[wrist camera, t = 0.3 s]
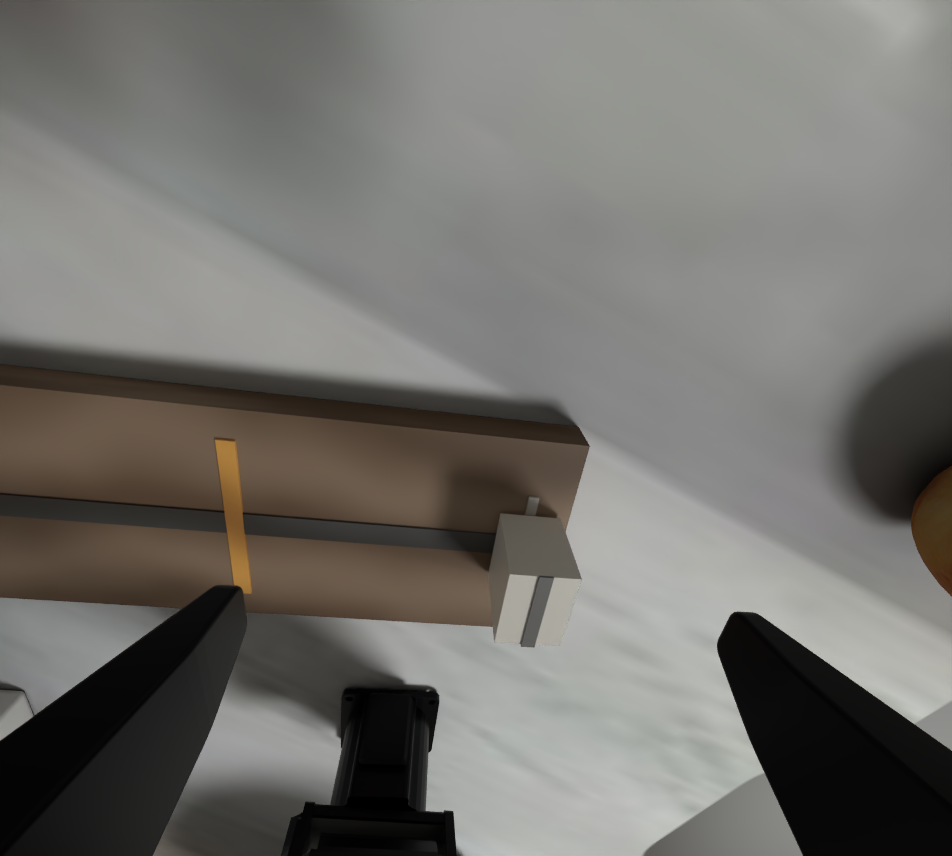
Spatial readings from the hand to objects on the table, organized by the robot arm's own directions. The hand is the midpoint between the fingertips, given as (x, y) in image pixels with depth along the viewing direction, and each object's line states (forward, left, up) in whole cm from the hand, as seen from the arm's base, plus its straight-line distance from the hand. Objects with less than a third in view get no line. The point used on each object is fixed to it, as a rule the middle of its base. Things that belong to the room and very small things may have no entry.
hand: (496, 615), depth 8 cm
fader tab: (-8, -4, -12) cm, 15 cm away
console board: (-8, +10, -14) cm, 19 cm away
